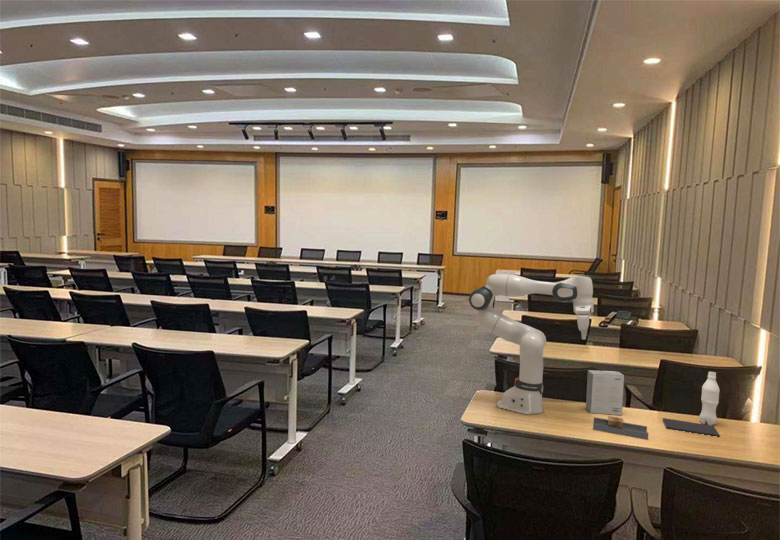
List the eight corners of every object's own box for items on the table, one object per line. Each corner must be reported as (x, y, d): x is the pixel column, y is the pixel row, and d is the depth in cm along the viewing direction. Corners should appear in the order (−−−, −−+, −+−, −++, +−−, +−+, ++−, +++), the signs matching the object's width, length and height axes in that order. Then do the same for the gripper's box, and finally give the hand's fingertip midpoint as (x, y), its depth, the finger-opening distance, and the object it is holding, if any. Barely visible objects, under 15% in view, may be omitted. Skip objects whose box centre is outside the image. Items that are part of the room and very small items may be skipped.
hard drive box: (616, 410, 252) (619, 371, 251) (622, 415, 244) (625, 375, 243) (584, 408, 254) (587, 369, 252) (589, 413, 246) (592, 373, 245)
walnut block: (607, 431, 224) (608, 420, 223) (607, 426, 229) (608, 416, 229) (622, 433, 221) (623, 422, 221) (621, 429, 227) (622, 418, 226)
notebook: (665, 429, 230) (719, 438, 222) (665, 426, 230) (720, 435, 222) (661, 420, 241) (713, 429, 234) (662, 417, 241) (713, 425, 234)
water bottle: (696, 423, 239) (701, 371, 237) (701, 419, 244) (705, 369, 242) (714, 427, 234) (719, 375, 232) (718, 424, 239) (723, 372, 237)
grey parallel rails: (593, 429, 224) (593, 424, 224) (593, 422, 233) (594, 417, 233) (647, 439, 215) (648, 433, 215) (646, 431, 224) (646, 426, 224)
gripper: (577, 306, 247) (578, 334, 247) (574, 310, 228) (575, 341, 228) (591, 306, 244) (592, 334, 244) (589, 310, 225) (590, 341, 226)
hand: (584, 337), depth 236 cm, fingers open, 8 cm apart
